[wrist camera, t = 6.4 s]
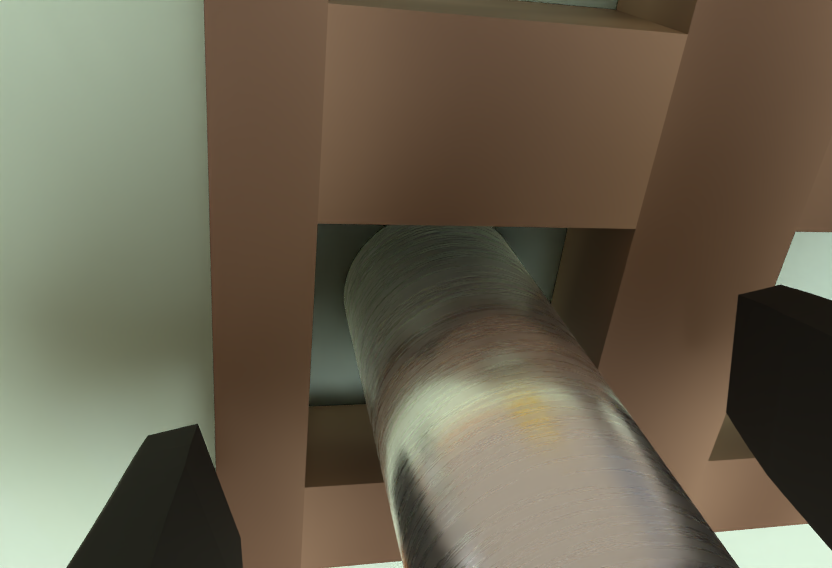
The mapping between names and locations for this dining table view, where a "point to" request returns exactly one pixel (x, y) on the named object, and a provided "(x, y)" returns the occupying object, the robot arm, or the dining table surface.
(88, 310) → the dining table surface
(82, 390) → the dining table surface
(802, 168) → the wooden grid tray
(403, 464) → the small grey canister
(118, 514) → the robot arm
